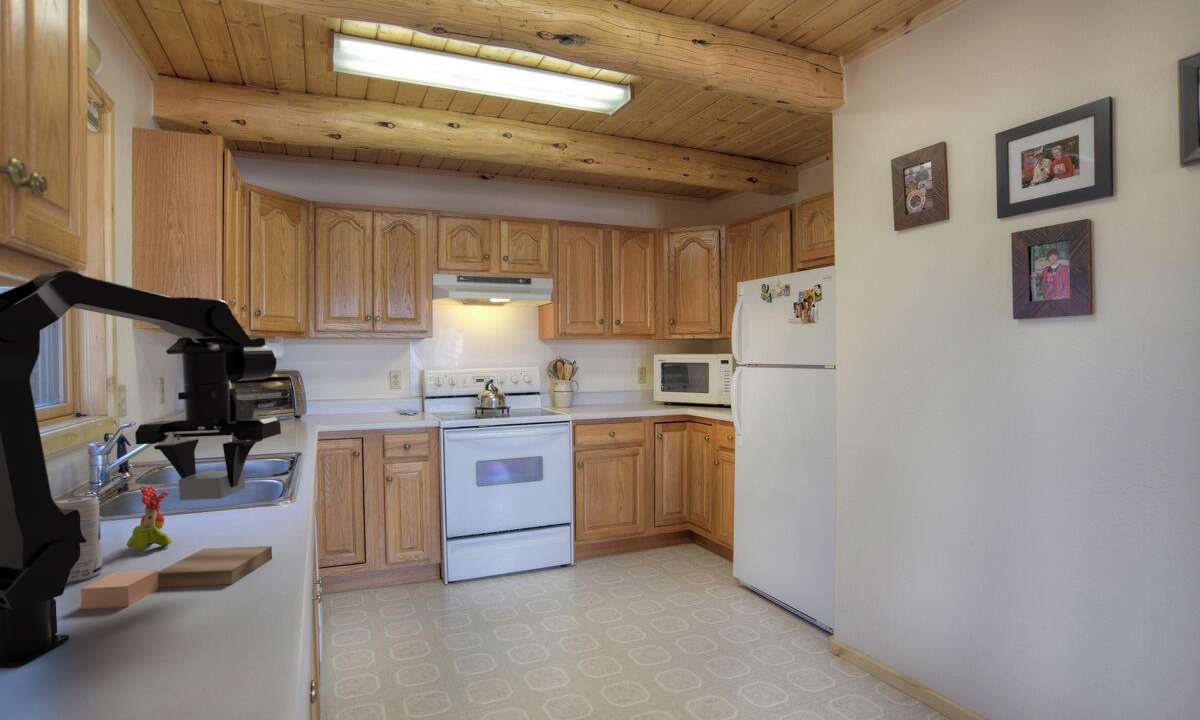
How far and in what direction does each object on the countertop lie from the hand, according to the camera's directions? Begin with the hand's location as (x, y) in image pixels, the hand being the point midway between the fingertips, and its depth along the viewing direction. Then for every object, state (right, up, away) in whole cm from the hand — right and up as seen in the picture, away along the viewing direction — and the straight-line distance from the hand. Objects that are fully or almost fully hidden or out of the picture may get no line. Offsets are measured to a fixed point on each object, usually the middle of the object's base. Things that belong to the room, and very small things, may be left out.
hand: (213, 487), depth 92 cm
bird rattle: (-22, -14, +17) cm, 31 cm away
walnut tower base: (-1, -13, +2) cm, 14 cm away
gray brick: (0, -1, 0) cm, 1 cm away
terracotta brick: (-8, -14, -7) cm, 18 cm away
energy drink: (-22, -14, +2) cm, 26 cm away
